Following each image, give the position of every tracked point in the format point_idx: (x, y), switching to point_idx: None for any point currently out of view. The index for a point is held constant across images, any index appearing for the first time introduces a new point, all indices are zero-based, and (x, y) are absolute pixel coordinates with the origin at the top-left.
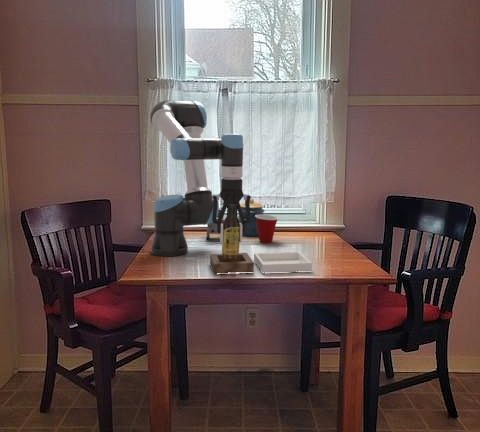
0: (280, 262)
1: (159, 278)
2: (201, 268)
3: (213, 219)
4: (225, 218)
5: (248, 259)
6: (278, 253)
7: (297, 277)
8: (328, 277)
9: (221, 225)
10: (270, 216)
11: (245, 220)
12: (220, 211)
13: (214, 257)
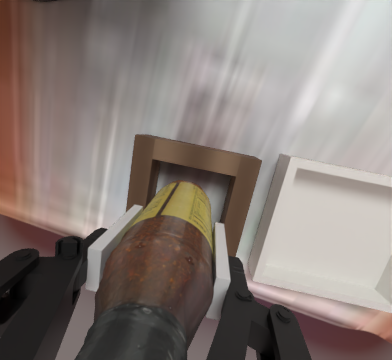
0: (345, 207)
1: (13, 209)
2: (115, 166)
3: (2, 307)
4: (100, 294)
5: (231, 236)
6: (374, 183)
7: (314, 308)
8: (384, 333)
9: (89, 288)
10: None
11: (248, 342)
12: (2, 335)
13: (138, 182)
